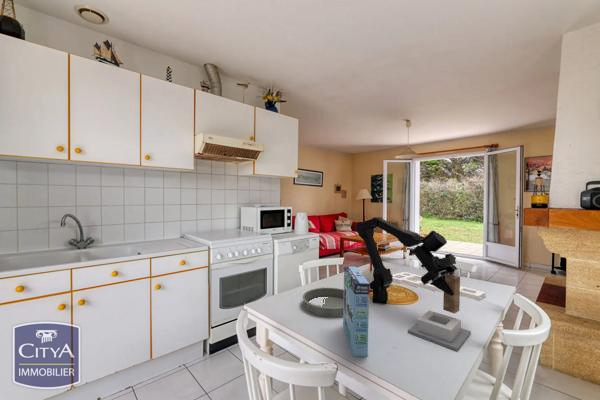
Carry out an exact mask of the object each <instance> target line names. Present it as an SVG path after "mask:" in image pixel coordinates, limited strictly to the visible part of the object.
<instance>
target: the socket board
mask: <svg viewBox="0 0 600 400" xmlns="http://www.w3.org/2000/svg"><path fill="white" fill-rule="evenodd" d="M471 333H472V332H471V330H469V329H465V328H462V320H461V319H459V318H456V317H453V316H449V315H445V314H442V313H439V312H436V311H432V310H428V311H427V312H425V313H424V314H423V315H421V316H420V317H419V318H417V322H416V323H415V324H413V325H412V326H410V327H409V329H408V330H407V334H410V335H412V336H416V337H418V338H419V339H423V340H425V341H429V342H431V343H434V344H437V345H439V346H442V347H445V348H447V349H450V350H452V351H453V352H454V351H455V352H458V351H459V350H460V349H461V347H462V346H463V345H464V343H466V340H467V339H468V338H469V337H470V335H471Z"/></svg>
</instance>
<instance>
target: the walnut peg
mask: <svg viewBox="0 0 600 400" xmlns="http://www.w3.org/2000/svg"><path fill="white" fill-rule="evenodd" d="M445 281H446V283H447V284H448V286H449V287H450V289H451V290H452V292H453V294H454V295H453V296H451V295H449V294H447V293H446V292H443V298H442V299H443V303H442V304H443V305H442V310H443V311H445V312H449V313H451V314H456V313H458V312H460V304H461V303H460V302H461V301H460V300H461V298H460V297H461V296H460V286H461V276H459V275H455V274H454V275H451V274H447V275H445Z"/></svg>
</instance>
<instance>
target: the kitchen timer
mask: <svg viewBox="0 0 600 400" xmlns="http://www.w3.org/2000/svg"><path fill="white" fill-rule="evenodd" d="M373 270H374V268H373V265H372V263H371V260H369V266H367V267H366V268H364V270H362V272H361V274H362V275H363V276H364V277H365V279H366V280H367V281H368V282H369V284H370V283H371V282H372V281H373V280H374V278H373ZM369 292H373V289H370V286H369Z"/></svg>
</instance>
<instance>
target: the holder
mask: <svg viewBox="0 0 600 400" xmlns="http://www.w3.org/2000/svg"><path fill="white" fill-rule="evenodd" d="M392 276H393V277H392V279H393V281H392V283H396V284H399V285H403V284H404V285H406V286H407V285H408V286H410V287H413V288H422V289H426V290H428V291H432V292H441V293H444V291H442V290H440V289H439V288H437V287H435V286H433V285H430V283H432V281H431V280H430V281H429V283H428V284H425V285H424V284H423V283H422V282H421V277H422V276H423V275H419V274H414V273H411V272H407V271H402V272H398V273H394V274H392ZM414 280H416V281H414ZM460 297H464V298H468V299H471V300H475V301H480V300H482V299H485V298H486V291H481V290H478V289H474V288H471V287H466V286H462V285H460Z"/></svg>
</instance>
